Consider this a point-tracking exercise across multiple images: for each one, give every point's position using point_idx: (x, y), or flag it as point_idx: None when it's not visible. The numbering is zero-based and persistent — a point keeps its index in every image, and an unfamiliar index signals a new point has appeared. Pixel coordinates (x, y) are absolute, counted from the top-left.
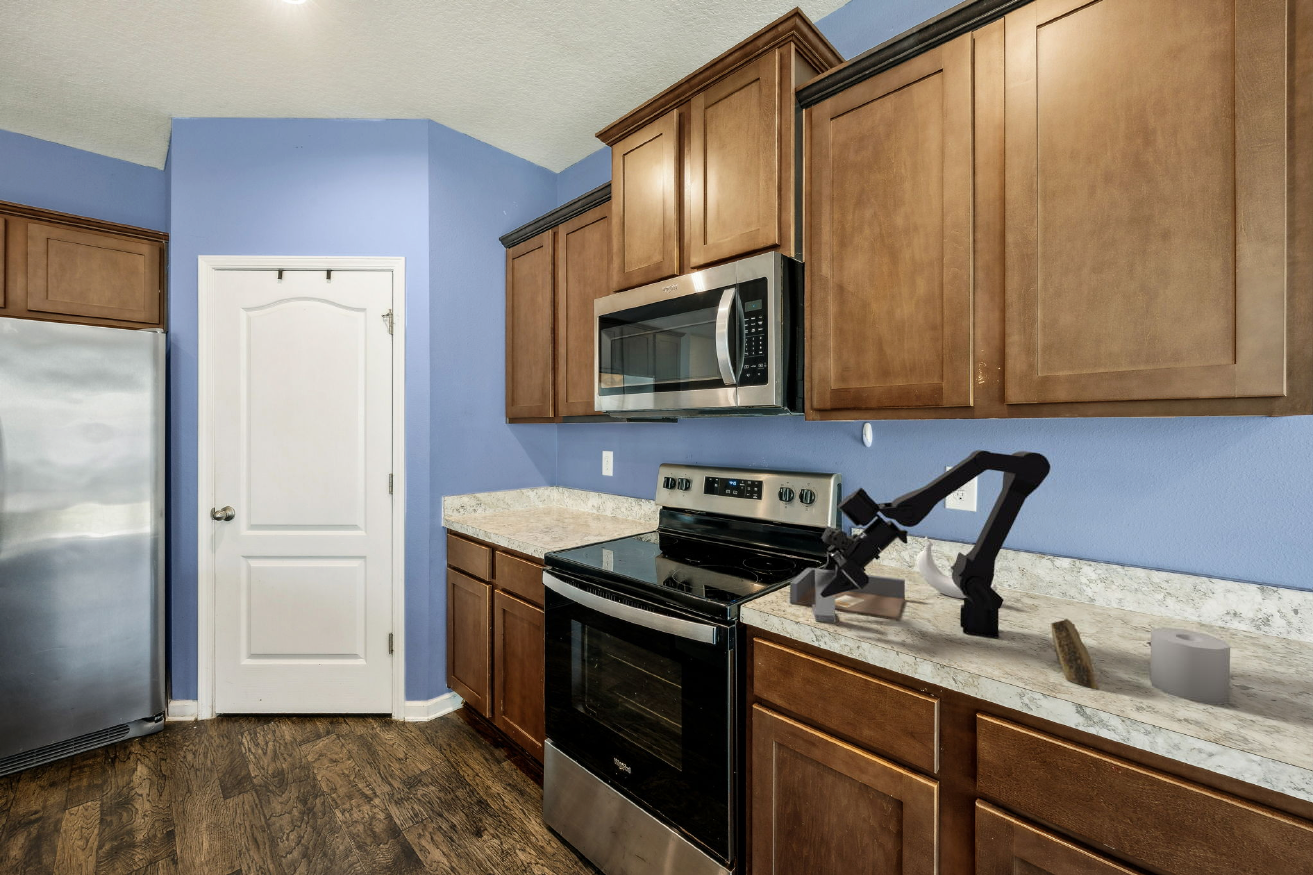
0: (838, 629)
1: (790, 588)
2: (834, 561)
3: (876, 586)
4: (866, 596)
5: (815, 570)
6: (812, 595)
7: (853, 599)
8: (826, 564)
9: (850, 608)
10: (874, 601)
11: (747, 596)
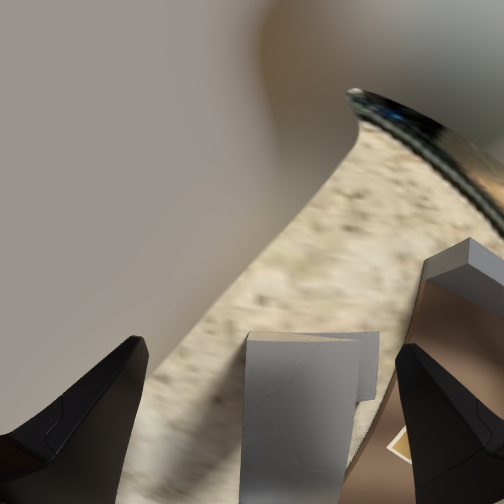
0: (174, 392)
1: (456, 245)
2: (485, 496)
3: None
4: None
5: (335, 340)
6: (481, 336)
7: None
8: (495, 431)
9: (375, 459)
10: None
11: (437, 152)
